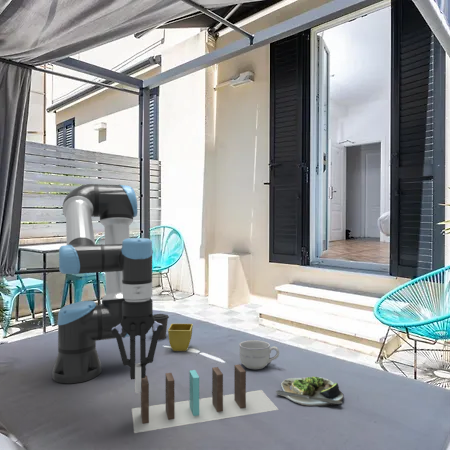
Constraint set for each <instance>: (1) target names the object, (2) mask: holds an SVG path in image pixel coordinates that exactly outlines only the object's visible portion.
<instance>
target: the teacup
mask: <svg viewBox="0 0 450 450" xmlns="http://www.w3.org/2000/svg"><path fill="white" fill-rule="evenodd" d="M273 350H274V351H276V354H275V355H274V356H272V357H270V356H271V355H270V354H271V352H272V351H273ZM279 356H280V349H279V347H277V346H271V344H270V343H269V342H267V341H264V340H257V339H256V340H254V339H253V340H244V341H241V342H239V360H240V363H241V364H242V366H244V367H245V368H247V369H249V370H262V369H263V368H265V367H266V366H267V365H268V364H270V363H272V361H274V360H276V359H277V358H278V357H279Z"/></svg>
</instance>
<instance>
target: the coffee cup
mask: <svg viewBox="0 0 450 450" xmlns="http://www.w3.org/2000/svg"><path fill="white" fill-rule="evenodd" d="M153 317H154V320H155V321H156V322H158V323H161V324H162V326H163V329H162V331H161V332H160V334H159V337H158V341H160V340H165V339H166V337H167V332H168V329H167V328H168V319H169V318H170V316H169V315H168V314H164V313H153ZM151 329H152V331H151V332H152V333H153V332H154V330H153V325H152V327H151Z"/></svg>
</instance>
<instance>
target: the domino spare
mask: <svg viewBox="0 0 450 450" xmlns="http://www.w3.org/2000/svg"><path fill="white" fill-rule="evenodd" d="M188 374H189V376H188V378H189V384H188V385H189V388H188V389H189V391H188V393H189V395H188V397H189V399H188V400H189V403H190V409H191V412H192V414H193V416H197V415H199V399H200V376H199V374H198V373H197V370H196V369H191V370H189V373H188Z"/></svg>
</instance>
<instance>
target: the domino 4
mask: <svg viewBox="0 0 450 450" xmlns="http://www.w3.org/2000/svg"><path fill="white" fill-rule="evenodd" d="M211 373H212V374H211V376H212V377H211V378H212V382H211V384H212V385H211V387H212V389H211V390H212V391H211V392H212V394H211V397H212V404H213V405H214V407H215V409H216V411H217V412H222V411H223V395H224V374H223V372H222V371H221V369H220V368H219V366H217V367H212V372H211Z"/></svg>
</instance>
